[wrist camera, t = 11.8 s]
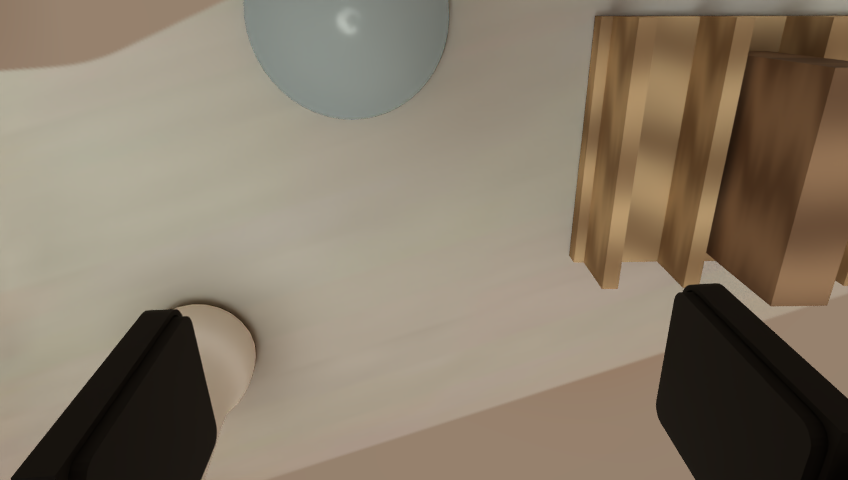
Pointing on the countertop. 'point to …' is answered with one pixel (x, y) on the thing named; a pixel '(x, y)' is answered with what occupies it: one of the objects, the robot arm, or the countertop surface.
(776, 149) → the board
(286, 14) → the pale blue rounded part
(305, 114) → the countertop surface
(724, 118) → the rack
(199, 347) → the bottle
